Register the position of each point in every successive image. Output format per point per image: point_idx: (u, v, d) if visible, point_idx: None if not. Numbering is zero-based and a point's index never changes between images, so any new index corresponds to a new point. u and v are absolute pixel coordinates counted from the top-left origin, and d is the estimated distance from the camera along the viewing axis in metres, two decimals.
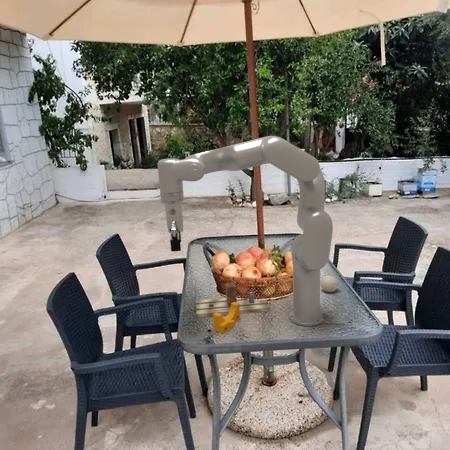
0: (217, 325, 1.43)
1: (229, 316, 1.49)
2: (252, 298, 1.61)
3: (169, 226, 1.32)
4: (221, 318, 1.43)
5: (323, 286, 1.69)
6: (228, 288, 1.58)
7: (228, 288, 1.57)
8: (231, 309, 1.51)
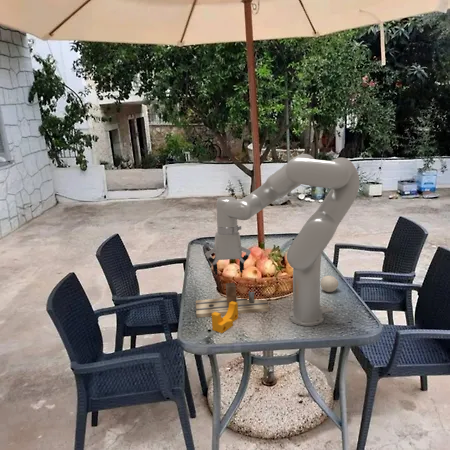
0: (216, 324, 1.44)
1: (227, 316, 1.50)
2: (252, 298, 1.61)
3: (241, 252, 1.55)
4: (220, 317, 1.44)
5: (323, 286, 1.69)
6: (228, 288, 1.58)
7: (228, 288, 1.57)
8: (229, 308, 1.51)
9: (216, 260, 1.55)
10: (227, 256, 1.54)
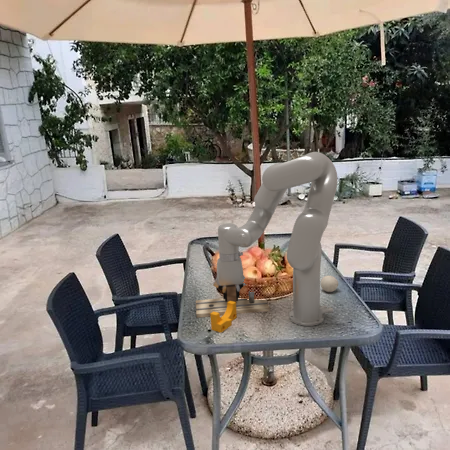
0: (215, 324, 1.44)
1: (226, 315, 1.50)
2: (252, 298, 1.61)
3: None
4: (218, 317, 1.44)
5: (323, 286, 1.69)
6: (228, 288, 1.58)
7: (228, 288, 1.57)
8: (228, 308, 1.52)
9: (224, 287, 1.58)
10: (229, 282, 1.57)
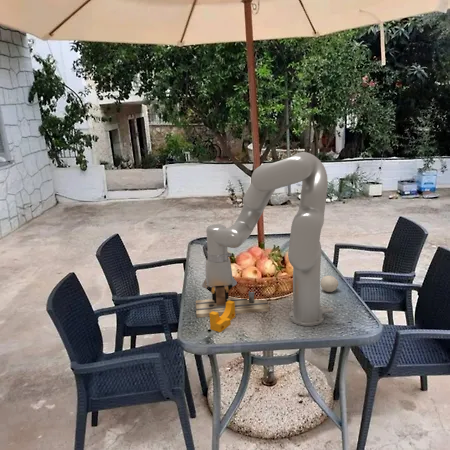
0: (214, 324, 1.44)
1: (224, 315, 1.51)
2: (252, 298, 1.61)
3: None
4: (218, 317, 1.45)
5: (323, 286, 1.69)
6: (217, 289, 1.57)
7: (217, 289, 1.57)
8: (226, 307, 1.52)
9: (213, 288, 1.58)
10: (218, 283, 1.56)
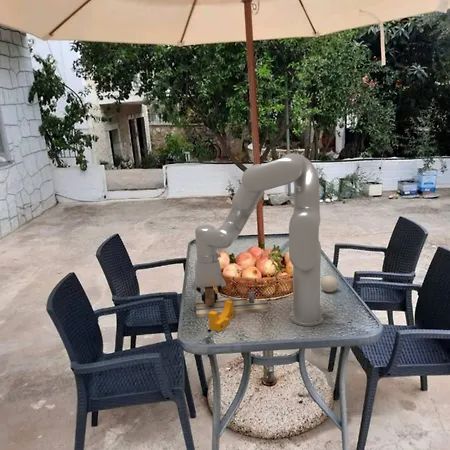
0: (213, 323, 1.45)
1: (223, 314, 1.51)
2: (252, 298, 1.61)
3: None
4: (217, 316, 1.45)
5: (323, 286, 1.69)
6: (206, 290, 1.57)
7: (206, 290, 1.57)
8: (225, 307, 1.52)
9: (202, 289, 1.57)
10: (207, 284, 1.56)
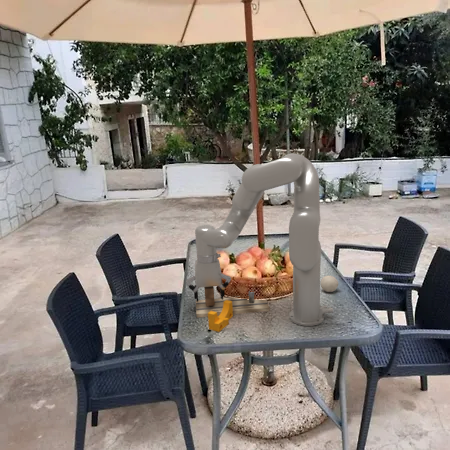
0: (212, 323, 1.45)
1: (222, 314, 1.51)
2: (252, 298, 1.61)
3: (221, 279, 1.57)
4: (216, 316, 1.45)
5: (323, 286, 1.69)
6: (206, 290, 1.57)
7: (206, 290, 1.57)
8: (224, 307, 1.52)
9: (196, 288, 1.57)
10: (207, 284, 1.56)
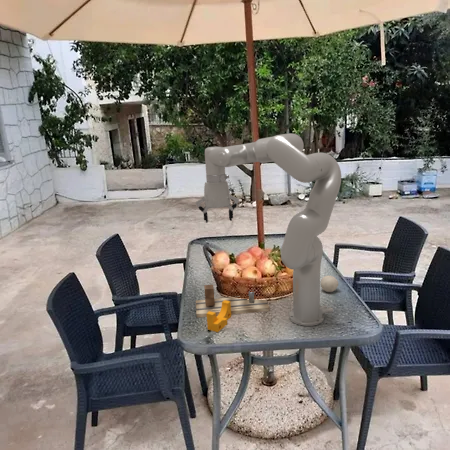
0: (211, 324, 1.44)
1: (221, 315, 1.51)
2: (252, 298, 1.61)
3: None
4: (215, 316, 1.45)
5: (323, 286, 1.69)
6: (206, 290, 1.57)
7: (206, 290, 1.57)
8: (222, 307, 1.52)
9: (206, 208, 1.62)
10: (216, 204, 1.61)
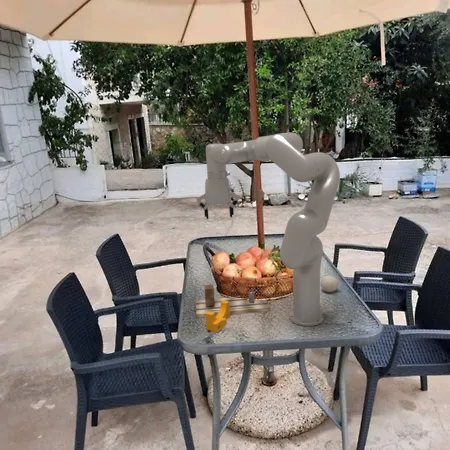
0: (210, 324, 1.44)
1: (220, 315, 1.51)
2: (252, 298, 1.61)
3: (230, 196, 1.63)
4: (214, 317, 1.45)
5: (323, 286, 1.69)
6: (206, 290, 1.57)
7: (206, 290, 1.57)
8: (221, 307, 1.52)
9: (207, 205, 1.64)
10: (217, 200, 1.63)
